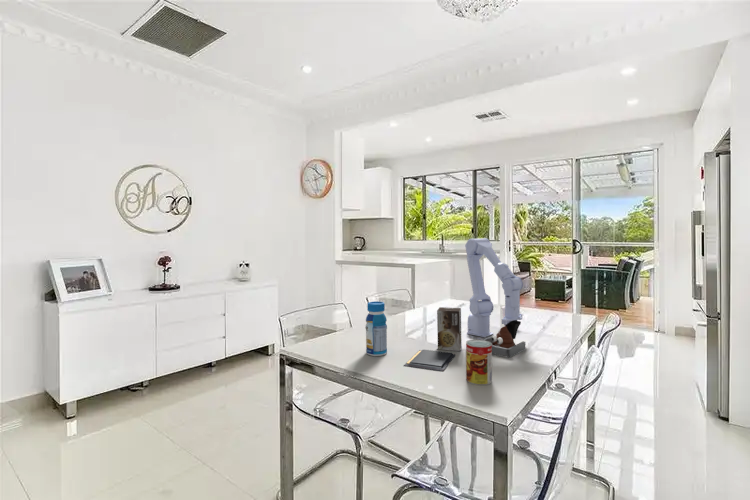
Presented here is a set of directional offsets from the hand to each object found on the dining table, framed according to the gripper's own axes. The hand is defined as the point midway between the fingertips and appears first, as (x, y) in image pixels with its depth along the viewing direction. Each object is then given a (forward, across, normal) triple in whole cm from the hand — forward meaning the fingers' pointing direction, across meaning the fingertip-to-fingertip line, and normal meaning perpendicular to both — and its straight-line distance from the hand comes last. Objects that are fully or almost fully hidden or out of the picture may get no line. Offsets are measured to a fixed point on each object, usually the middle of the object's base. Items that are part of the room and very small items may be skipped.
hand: (512, 338), depth 160 cm
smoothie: (+3, +27, +15) cm, 31 cm away
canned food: (+3, -44, -10) cm, 45 cm away
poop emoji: (+3, -8, 0) cm, 9 cm away
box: (+2, -10, 0) cm, 10 cm away
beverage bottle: (+3, -48, +32) cm, 58 cm away
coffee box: (+3, -22, +16) cm, 27 cm away
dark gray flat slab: (+3, -39, +12) cm, 41 cm away
